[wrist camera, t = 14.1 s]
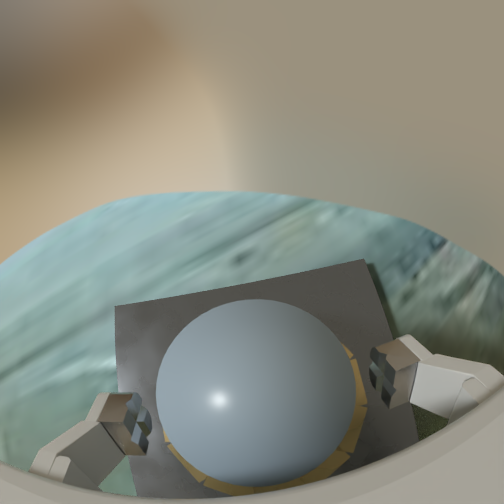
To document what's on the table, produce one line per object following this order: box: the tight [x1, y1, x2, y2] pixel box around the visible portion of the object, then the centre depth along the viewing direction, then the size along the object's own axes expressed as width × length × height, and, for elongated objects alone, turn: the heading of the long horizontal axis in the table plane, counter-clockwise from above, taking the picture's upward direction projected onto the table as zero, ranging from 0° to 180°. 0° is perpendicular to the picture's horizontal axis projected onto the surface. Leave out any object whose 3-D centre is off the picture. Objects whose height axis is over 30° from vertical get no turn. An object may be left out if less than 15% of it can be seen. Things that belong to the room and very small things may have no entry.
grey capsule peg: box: [156, 299, 356, 487], centre depth 10 cm, size 5×5×10 cm
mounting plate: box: [115, 259, 419, 499], centre depth 15 cm, size 18×16×1 cm
